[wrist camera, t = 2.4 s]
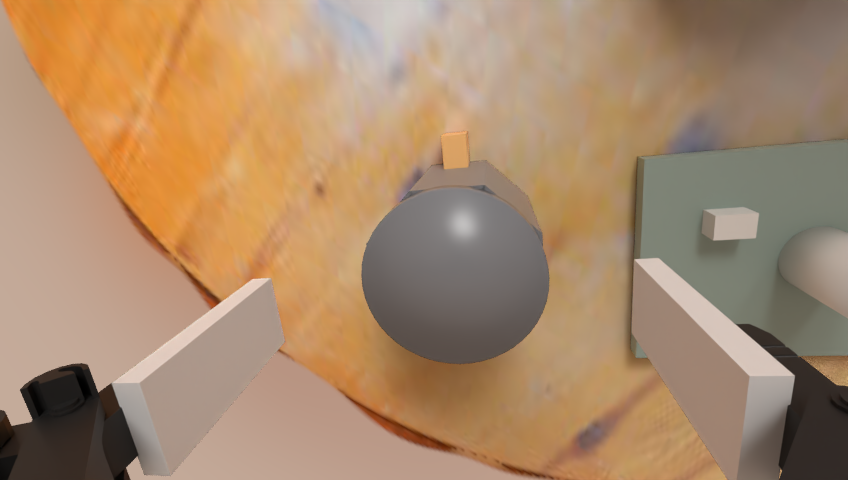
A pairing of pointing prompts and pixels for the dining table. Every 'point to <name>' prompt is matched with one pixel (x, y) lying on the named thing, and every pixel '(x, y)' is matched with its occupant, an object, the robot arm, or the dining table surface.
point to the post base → (755, 236)
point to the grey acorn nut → (457, 262)
